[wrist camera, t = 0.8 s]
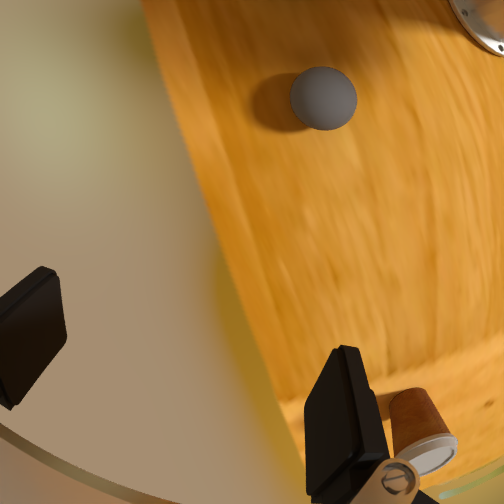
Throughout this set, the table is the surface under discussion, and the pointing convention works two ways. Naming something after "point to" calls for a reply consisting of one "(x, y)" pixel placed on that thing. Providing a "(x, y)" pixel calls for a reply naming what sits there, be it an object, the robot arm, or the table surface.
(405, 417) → the disposable coffee cup
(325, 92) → the gray ball
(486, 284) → the table surface
